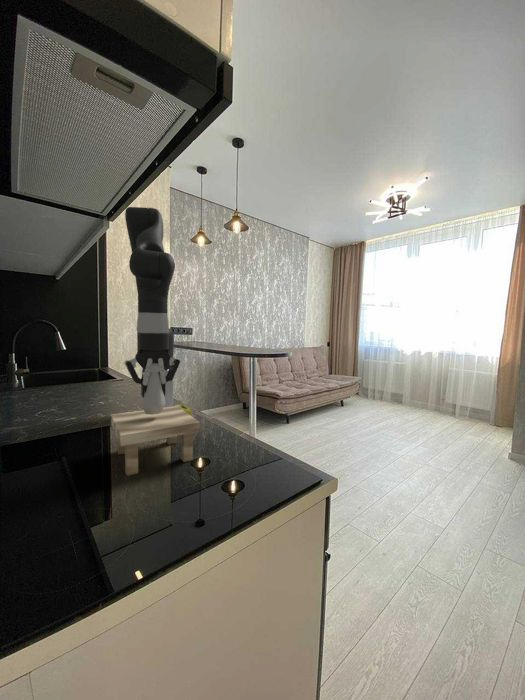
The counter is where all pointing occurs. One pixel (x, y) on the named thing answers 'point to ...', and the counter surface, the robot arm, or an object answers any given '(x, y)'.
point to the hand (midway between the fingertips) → (153, 398)
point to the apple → (185, 408)
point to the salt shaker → (153, 392)
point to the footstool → (153, 432)
